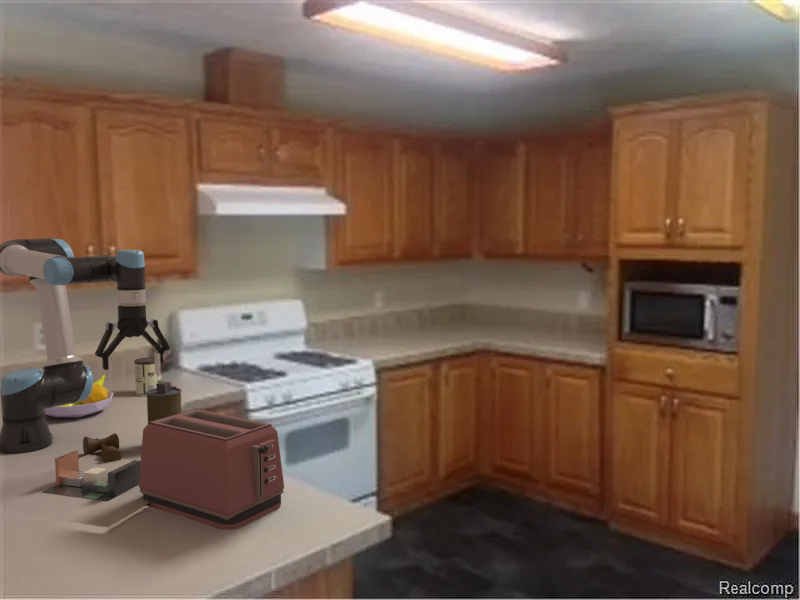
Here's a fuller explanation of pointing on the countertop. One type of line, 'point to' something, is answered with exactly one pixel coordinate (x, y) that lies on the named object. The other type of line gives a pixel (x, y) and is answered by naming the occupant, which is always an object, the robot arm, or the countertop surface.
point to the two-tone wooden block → (68, 470)
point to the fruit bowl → (84, 403)
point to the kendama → (103, 447)
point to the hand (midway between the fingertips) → (134, 377)
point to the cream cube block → (96, 475)
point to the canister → (163, 401)
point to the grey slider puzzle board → (103, 484)
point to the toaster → (211, 468)
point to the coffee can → (145, 375)
